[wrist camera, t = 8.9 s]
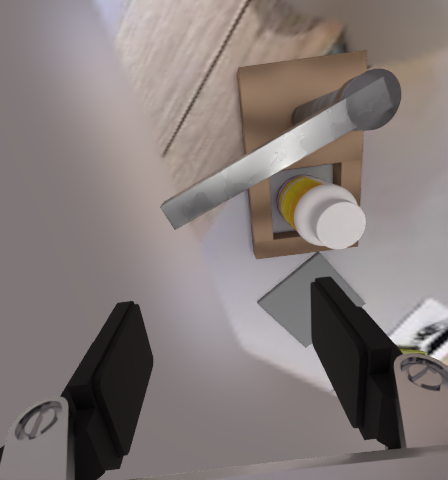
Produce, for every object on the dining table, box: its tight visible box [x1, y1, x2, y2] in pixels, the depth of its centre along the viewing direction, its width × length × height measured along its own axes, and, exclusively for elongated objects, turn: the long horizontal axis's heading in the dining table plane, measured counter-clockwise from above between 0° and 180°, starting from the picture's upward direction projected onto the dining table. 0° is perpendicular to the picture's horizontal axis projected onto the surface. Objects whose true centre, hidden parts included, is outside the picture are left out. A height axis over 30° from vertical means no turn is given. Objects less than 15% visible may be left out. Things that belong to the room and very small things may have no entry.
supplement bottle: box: [277, 175, 366, 249], centre depth 31 cm, size 7×7×13 cm
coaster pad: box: [258, 252, 366, 348], centre depth 43 cm, size 12×12×1 cm
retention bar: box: [160, 69, 401, 229], centre depth 20 cm, size 18×4×2 cm, turn 119°
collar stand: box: [237, 50, 367, 259], centre depth 29 cm, size 23×14×15 cm, turn 7°
